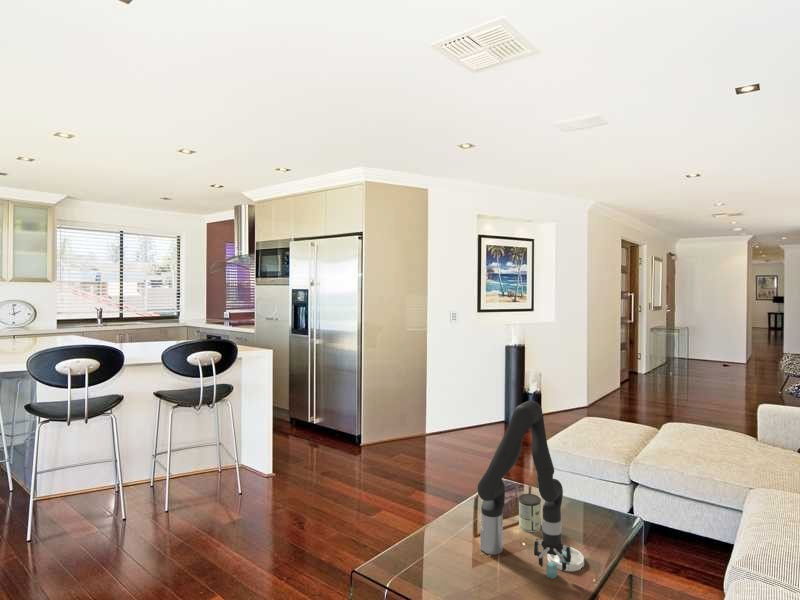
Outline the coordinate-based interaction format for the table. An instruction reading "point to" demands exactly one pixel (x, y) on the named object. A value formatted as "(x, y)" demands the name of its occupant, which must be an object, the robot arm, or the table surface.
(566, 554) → the bead
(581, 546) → the table surface
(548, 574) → the bead
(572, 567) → the ring tray
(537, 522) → the coffee can
